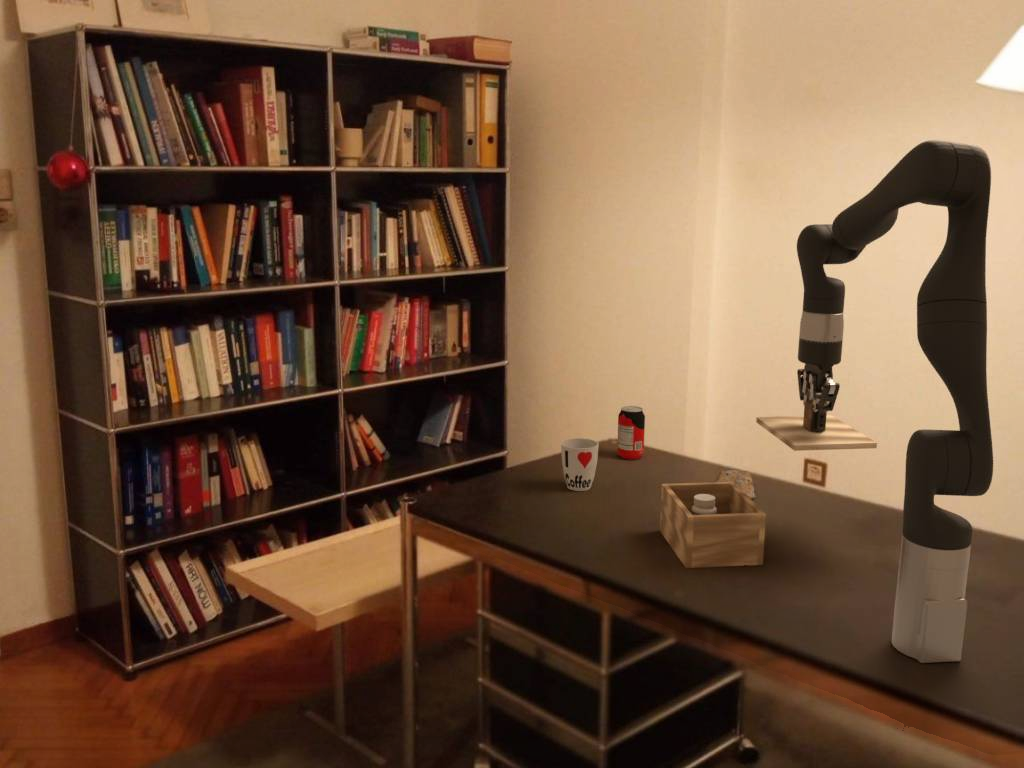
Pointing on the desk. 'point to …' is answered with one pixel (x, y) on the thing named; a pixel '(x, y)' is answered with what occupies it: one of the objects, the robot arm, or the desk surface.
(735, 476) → the rock
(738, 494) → the box
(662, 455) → the desk surface
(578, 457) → the cup
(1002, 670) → the desk surface
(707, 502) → the pill bottle
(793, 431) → the lid
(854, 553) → the desk surface
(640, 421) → the beverage can
